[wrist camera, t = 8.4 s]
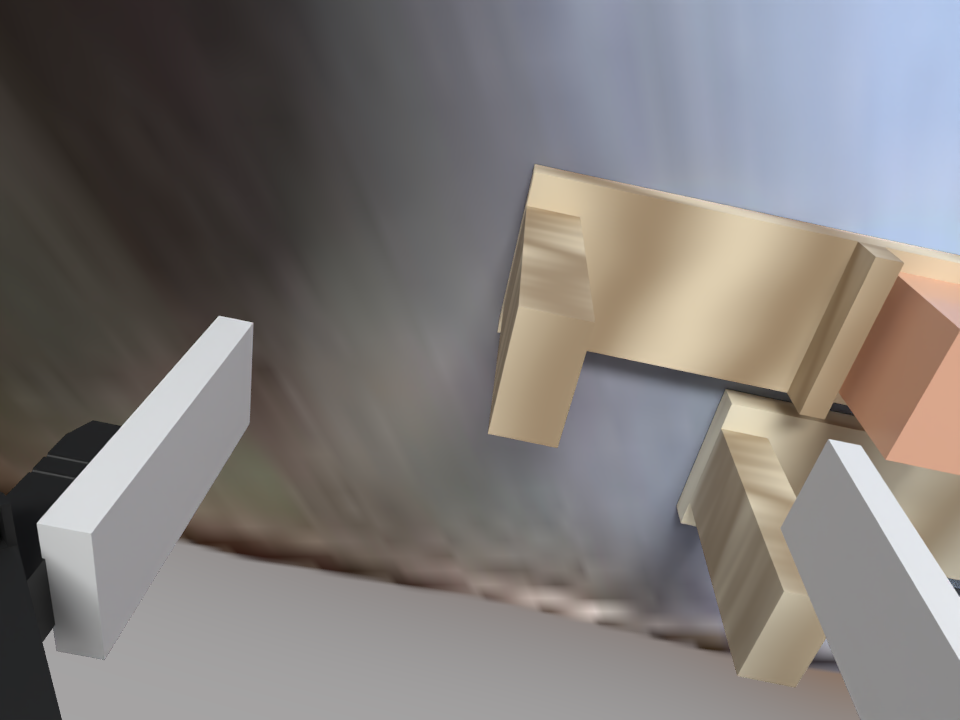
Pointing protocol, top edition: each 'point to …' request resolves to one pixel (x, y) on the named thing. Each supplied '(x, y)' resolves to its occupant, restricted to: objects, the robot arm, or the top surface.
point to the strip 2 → (764, 507)
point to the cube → (911, 375)
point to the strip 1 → (683, 296)
